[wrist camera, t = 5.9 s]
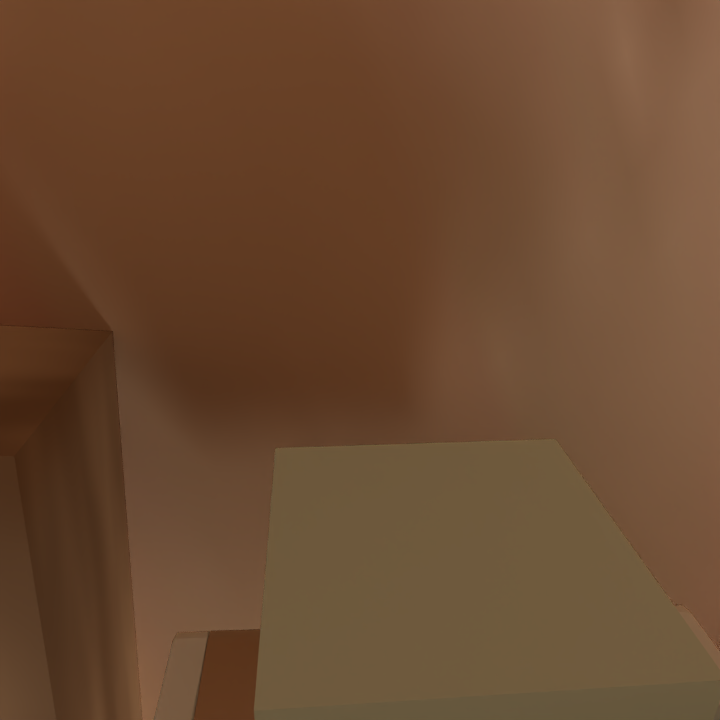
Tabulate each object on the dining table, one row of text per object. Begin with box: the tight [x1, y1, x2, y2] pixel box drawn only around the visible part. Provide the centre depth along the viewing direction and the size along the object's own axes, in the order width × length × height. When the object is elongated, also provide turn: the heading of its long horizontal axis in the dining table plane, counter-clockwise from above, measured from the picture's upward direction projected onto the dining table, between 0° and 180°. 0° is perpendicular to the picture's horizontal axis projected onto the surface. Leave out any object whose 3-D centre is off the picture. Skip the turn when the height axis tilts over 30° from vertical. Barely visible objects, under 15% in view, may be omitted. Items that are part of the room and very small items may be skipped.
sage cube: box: [254, 439, 720, 720], centre depth 10 cm, size 5×5×5 cm
